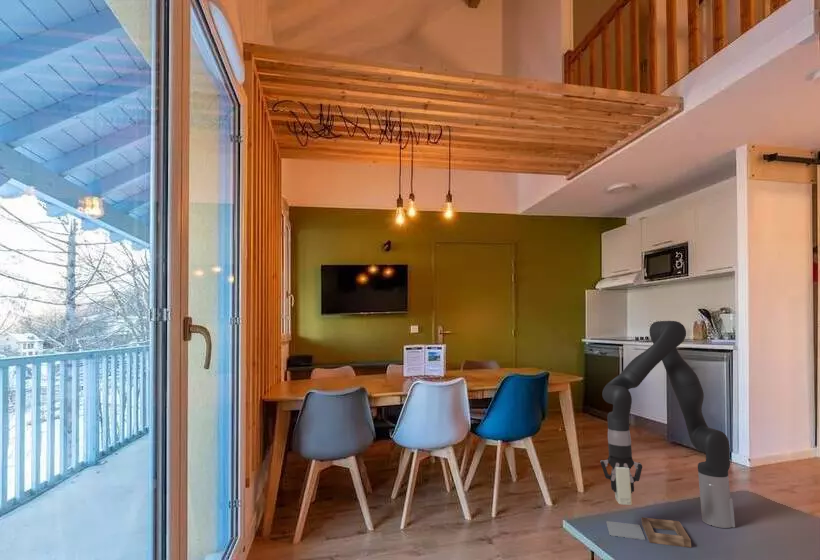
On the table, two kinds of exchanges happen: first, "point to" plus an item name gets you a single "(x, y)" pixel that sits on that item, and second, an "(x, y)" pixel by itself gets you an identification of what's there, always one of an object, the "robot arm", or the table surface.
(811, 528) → the table surface
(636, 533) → the slate mat
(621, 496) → the skincare box
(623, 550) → the table surface
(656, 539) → the frame
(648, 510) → the table surface
